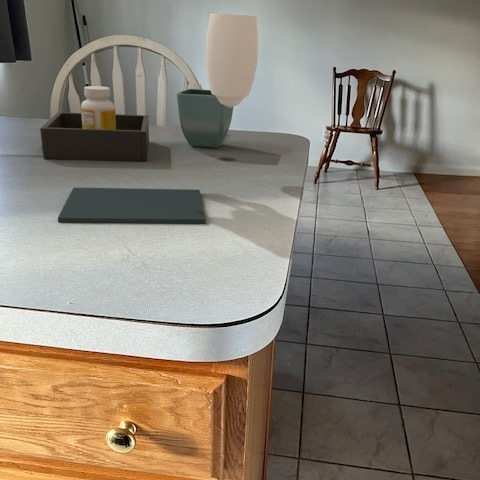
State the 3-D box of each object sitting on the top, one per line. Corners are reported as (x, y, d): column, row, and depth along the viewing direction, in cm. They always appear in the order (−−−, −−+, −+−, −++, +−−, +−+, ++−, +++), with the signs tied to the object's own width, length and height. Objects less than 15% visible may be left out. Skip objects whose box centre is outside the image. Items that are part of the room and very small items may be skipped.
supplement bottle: (83, 152, 88) (77, 88, 83) (85, 145, 92) (80, 84, 88) (116, 153, 89) (113, 90, 84) (117, 146, 93) (114, 86, 89)
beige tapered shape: (214, 177, 79) (219, 13, 69) (196, 165, 84) (198, 12, 74) (258, 174, 82) (269, 16, 72) (238, 163, 87) (245, 15, 77)
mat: (58, 222, 58) (57, 217, 58) (73, 191, 69) (73, 187, 69) (205, 223, 61) (205, 219, 60) (199, 193, 71) (199, 189, 71)
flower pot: (187, 138, 103) (188, 87, 98) (233, 142, 102) (236, 91, 97) (175, 147, 95) (175, 92, 91) (225, 152, 94) (227, 96, 90)
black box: (43, 158, 83) (40, 128, 81) (60, 138, 96) (57, 112, 94) (147, 161, 85) (146, 131, 83) (149, 141, 98) (148, 115, 96)
